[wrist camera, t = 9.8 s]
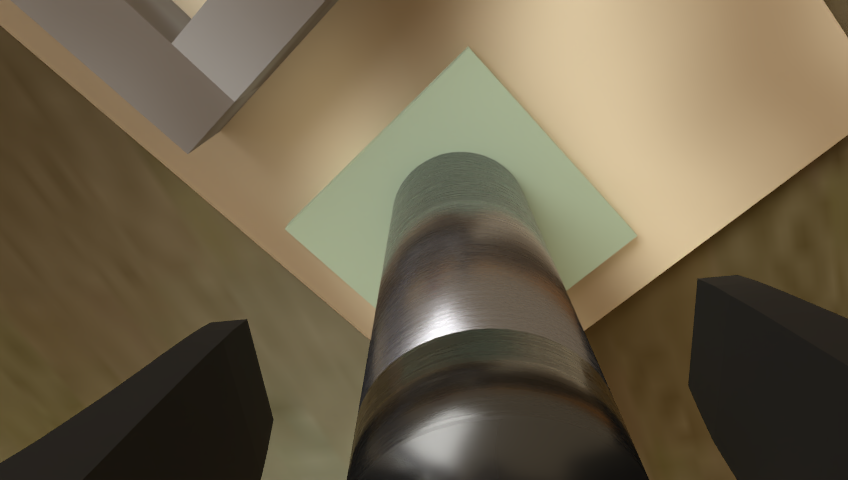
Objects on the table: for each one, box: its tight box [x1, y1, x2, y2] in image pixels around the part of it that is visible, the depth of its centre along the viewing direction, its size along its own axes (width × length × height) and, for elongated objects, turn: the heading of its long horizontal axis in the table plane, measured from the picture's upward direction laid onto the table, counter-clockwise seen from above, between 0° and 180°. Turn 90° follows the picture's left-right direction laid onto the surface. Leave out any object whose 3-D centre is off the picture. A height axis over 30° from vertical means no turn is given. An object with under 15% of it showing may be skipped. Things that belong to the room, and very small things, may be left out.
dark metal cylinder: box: [347, 152, 649, 480], centre depth 10 cm, size 3×3×9 cm
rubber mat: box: [285, 47, 637, 309], centre depth 14 cm, size 6×6×1 cm
